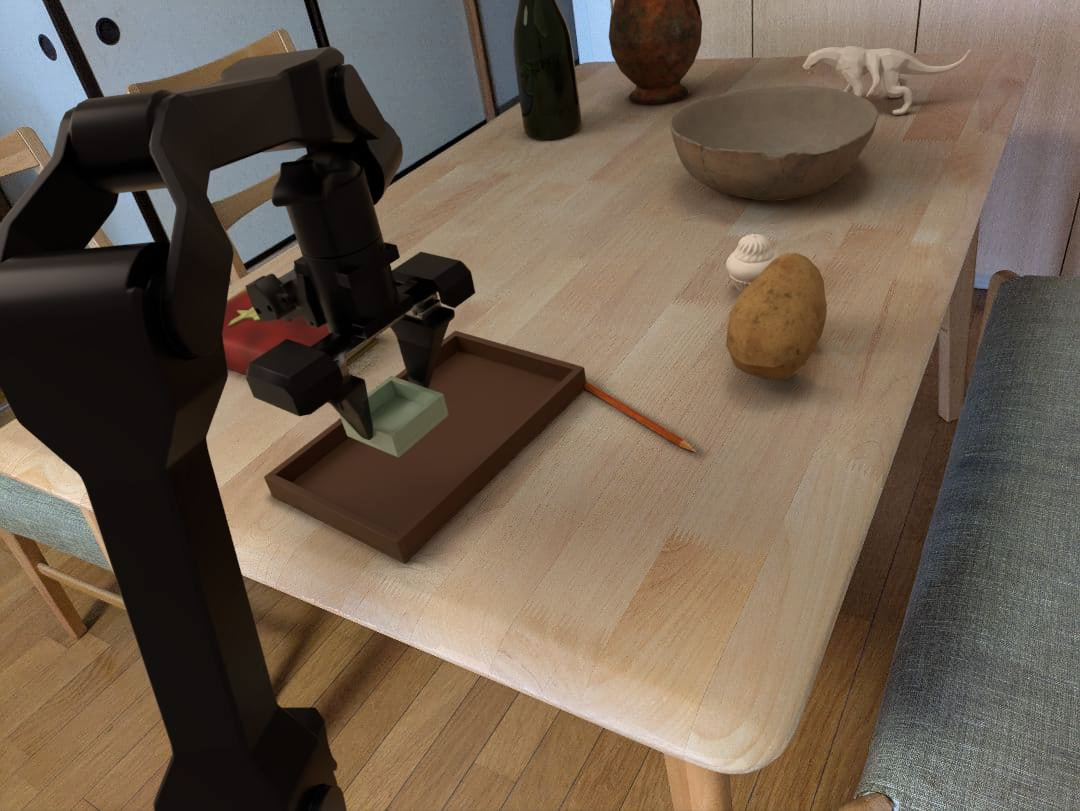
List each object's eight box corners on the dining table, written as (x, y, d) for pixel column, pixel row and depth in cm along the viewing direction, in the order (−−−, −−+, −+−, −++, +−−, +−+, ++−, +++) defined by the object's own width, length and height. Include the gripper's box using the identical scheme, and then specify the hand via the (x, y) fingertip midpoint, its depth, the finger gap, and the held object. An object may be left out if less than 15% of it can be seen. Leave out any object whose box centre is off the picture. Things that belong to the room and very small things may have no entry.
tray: (404, 563, 70) (397, 542, 68) (271, 496, 79) (263, 476, 78) (587, 387, 86) (584, 367, 85) (459, 348, 96) (455, 330, 94)
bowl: (652, 220, 116) (648, 149, 110) (694, 145, 136) (692, 82, 130) (865, 225, 106) (872, 148, 100) (876, 144, 126) (883, 75, 120)
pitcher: (624, 85, 167) (611, -87, 150) (733, 79, 160) (732, -101, 143) (603, 113, 155) (586, -70, 137) (720, 109, 148) (718, -85, 130)
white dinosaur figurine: (800, 99, 146) (802, 39, 140) (957, 89, 139) (967, 25, 133) (800, 123, 137) (802, 60, 131) (968, 114, 130) (979, 47, 124)
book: (307, 397, 92) (295, 365, 90) (188, 359, 103) (175, 330, 100) (379, 340, 100) (369, 310, 97) (261, 311, 110) (250, 282, 108)
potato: (706, 394, 82) (703, 312, 77) (760, 315, 92) (761, 238, 87) (793, 413, 78) (797, 328, 73) (840, 328, 88) (847, 248, 83)
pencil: (575, 377, 88) (574, 372, 88) (699, 452, 76) (699, 447, 75) (569, 381, 88) (568, 375, 87) (693, 457, 75) (693, 451, 75)
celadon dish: (398, 458, 65) (391, 436, 64) (346, 436, 68) (339, 414, 67) (449, 415, 69) (443, 393, 67) (397, 396, 72) (391, 375, 71)
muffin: (719, 283, 99) (718, 229, 95) (768, 273, 100) (770, 218, 95) (737, 308, 94) (737, 252, 90) (789, 297, 95) (792, 240, 90)
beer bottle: (565, 143, 145) (538, -73, 126) (514, 140, 150) (480, -68, 131) (592, 121, 152) (570, -86, 133) (542, 119, 157) (514, -81, 138)
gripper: (358, 175, 69) (403, 336, 78) (163, 280, 57) (243, 453, 67) (459, 193, 63) (495, 365, 72) (263, 313, 51) (335, 498, 61)
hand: (395, 415), depth 68 cm, fingers closed on celadon dish, 6 cm apart
